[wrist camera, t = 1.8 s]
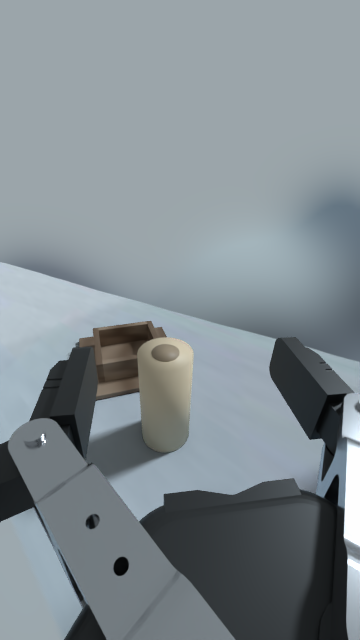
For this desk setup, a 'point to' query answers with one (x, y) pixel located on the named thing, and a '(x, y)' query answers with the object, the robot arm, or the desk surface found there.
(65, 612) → the desk surface
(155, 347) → the paper roll
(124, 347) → the roll stand
